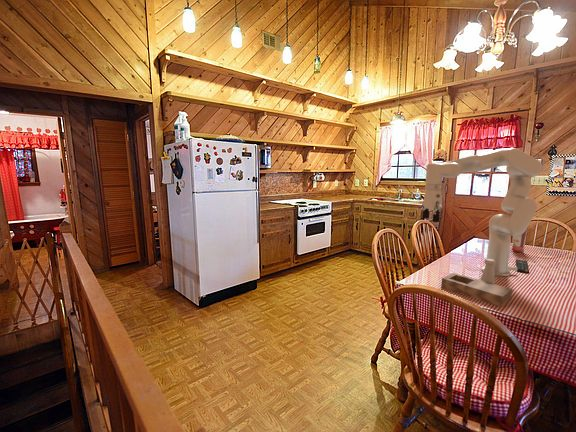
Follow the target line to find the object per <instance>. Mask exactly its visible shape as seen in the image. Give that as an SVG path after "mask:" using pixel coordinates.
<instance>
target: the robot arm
mask: <svg viewBox="0 0 576 432" xmlns="http://www.w3.org/2000/svg"><path fill="white" fill-rule="evenodd" d="M498 167H506V173H507V175H508V176H509V180H510V185H509V188H508V189H507V192H506V194H505V196H504V198H503V199H502V201H501V205H500V208H501V210H502V211H504V212H505V213H508V214H504V213H499V214H498V213H497V214H494V215H493V216H491V217H490V219H489V220H488V221H489V222H488V229H489V238H488V242H487V243H488V246H487V252H486V253H487V254H486V259H493V260H495V261H496V264H495V265H494V275H495V276H498V277H508V276H510V275H511V271H516V272H517V270H518V268H517V267H516V266H512V265H509V260H510V259H509V258H510V253H511V252H510V251H511V245H512V237H514V236H520V235H522V234H523V233H524V232H525V230H526V229H527V227H528V228H529V226H528V225H530V223H531V222H532V220H533V218H534V216H535V215H536V211H537V208H538V207H537V206H538V205H537V202H536V200H535V199H533V198H532V197H529V194H530V193H531V189H532V182H531V178H535V177H538V176H539V175H541V173H542V171H543V165H542V162H541V161H540V160H538V159H537V158H535V157H533V156H532V155H530V154H529V153H527V152H524V151H523V150H521V149H518V148H515V147H510V148H499V149H495V150H491V151H487V152H482V153H478V154H474V155H469V156H467V157H462V158H457V159H453V160H449V161H446V162H442V163H441V162H439V163H438V162H431V163H427V165H426V170H425V171H426V173H425V186H424V191H425V192H424V196H423V201H422V219H423V220H424V219H425V220H427V219H429V218H430V210H431V211H433V214H432V222H433V223H439V222H440V217H441V212H442V210H443V208H444V207H443V193H442V192H443V191H442V187H443V185H442V184H443V178H448V179H449V178H452V179H454V178H456V177H459V176H460V175H461V173H463V174H464V173H477V172H482V171H486V170H490V169H494V168H498ZM509 214H511V215H509ZM485 266H486V265H484V266H482V267H481V271H482V272H483V271H484V268H485Z"/></svg>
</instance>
